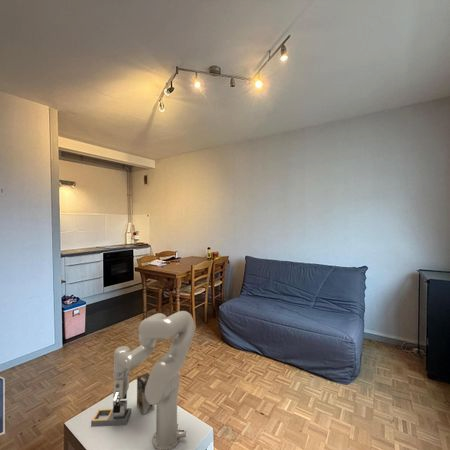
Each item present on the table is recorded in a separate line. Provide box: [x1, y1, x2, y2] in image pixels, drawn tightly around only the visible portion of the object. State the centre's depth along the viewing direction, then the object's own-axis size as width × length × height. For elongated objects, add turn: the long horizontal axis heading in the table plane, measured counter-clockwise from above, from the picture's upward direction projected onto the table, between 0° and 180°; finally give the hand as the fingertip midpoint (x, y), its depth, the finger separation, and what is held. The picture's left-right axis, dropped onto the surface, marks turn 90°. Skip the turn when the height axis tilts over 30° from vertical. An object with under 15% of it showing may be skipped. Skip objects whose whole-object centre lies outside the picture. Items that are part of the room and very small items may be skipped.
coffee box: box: [136, 372, 155, 416], centre depth 134 cm, size 9×6×16 cm
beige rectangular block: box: [115, 399, 128, 419], centre depth 126 cm, size 4×4×8 cm
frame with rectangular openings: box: [90, 407, 132, 427], centre depth 125 cm, size 17×8×3 cm, turn 94°
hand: (120, 405), depth 126 cm, fingers open, 9 cm apart
